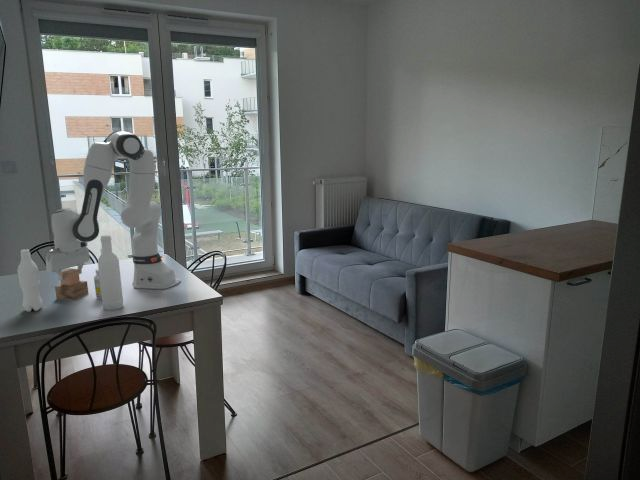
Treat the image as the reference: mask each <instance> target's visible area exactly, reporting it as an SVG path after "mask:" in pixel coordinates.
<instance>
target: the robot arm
mask: <svg viewBox="0 0 640 480" xmlns="http://www.w3.org/2000/svg"><path fill="white" fill-rule="evenodd" d="M119 157H121V158H122V157H123V158H127V160H128V164H129V184H128V185H129V186H128V194H127V196H126V197H127V198H126V202H125V205H124V208H123V209H122V211H121V213H120V220H121V222H122V224H123V225H124V226H126V227H128V228H133V229H134V234H133V235H132V238H131V242H132V252H133V254H132V262H133V266H134V267H133V281H132V286H133V289H151V290H154V289H155V290H164V289H168V288H172V287H174V286H177V285H178V284H179V283H181V278H176V274H175V270H174V269H173V268H171V267H170V266H169V265H168V264H167V263H165V262H164V261H163V260H162V258H164V255H163V254H162V255H160V253H159V251H158V250H159V249H158V230H159V222H160V218H161V216H162V212H163V210H162V207H161V205H160V204H159V203H158V202H156V201H154V200H152V197H153V194H154V192H155V190H156V165H155V158H154V157H155V156H154V154H153V151H151V150H150V149H148V148H145V147H144V145H143V143H142V141H141V139H140V137H139V136H137V134H134V133H132V132H128V131H123V130H121V131H119V130H118V131H113V132H111V133H110V134H109V135H108V136H107V137H105V139H104V140H103V141H96V142H93V143H92V144H91V145H90V147H89V149H88V152H87V154H86V158H85V161H84V162H85V163H84V168H83V177H82V178H83V188H84V189H83V190H84V194H83V195H84V198H83V200H82V201H83V203H82V207H81V212H78V211H76V210H73V209H72V208H70V207H67V208H61V209H58V210H56V211H54V212H53V213H52V214H51V227H52V228H51V229H52V232H53V235H54V237H53V242H54V243H53V244H54V249H49V250H48V251H47V253H46V254H45V257H46V258H45V267H46V272H48V273H55V275H56V276H57V277H58V278H57V279H58V280H59V281H61V280H63V279H64V275H62V274H61V271H62V270H65V269H69V268H72V267H75V266H76V267H77V269H79V275H81V274H82V273H83V271H82V269H83V267H84V264H85V263H88V262H90V259H91V257H90V256H91V255H90V251H89V248H88V242H89V243H90V242H92V241H94V240H96V239H97V238H98V236H99V234H100V225H99V220H98V215H99V209H100V204H101V199H102V197H103V195H104V192H105V191H106V189H107V187H108V184H109V183H110V180H111V177H112V174H113V170H114V164H115V161H116V160H117V159H118V158H119Z"/></svg>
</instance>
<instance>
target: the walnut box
mask: <svg viewBox="0 0 640 480" xmlns="http://www.w3.org/2000/svg"><path fill="white" fill-rule="evenodd" d="M54 289H55V298H56V300H66V301H67V300H69V301H77V300H78V299H80V298H82V297H85V296H86V295H88V294H89V287H88V281H87V280H80V283H78V284H75V285H72V286H66V285H61V283H60V284H57V285H55V286H54Z"/></svg>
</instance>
